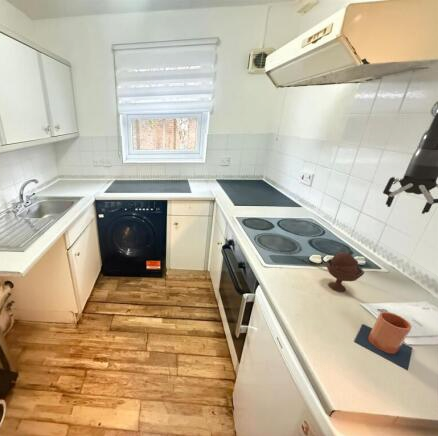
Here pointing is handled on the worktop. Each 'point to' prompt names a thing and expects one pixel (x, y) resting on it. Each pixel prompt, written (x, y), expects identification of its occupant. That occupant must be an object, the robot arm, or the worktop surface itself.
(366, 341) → the place mat
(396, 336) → the terracotta cup
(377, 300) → the worktop surface
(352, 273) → the ice cream bowl
